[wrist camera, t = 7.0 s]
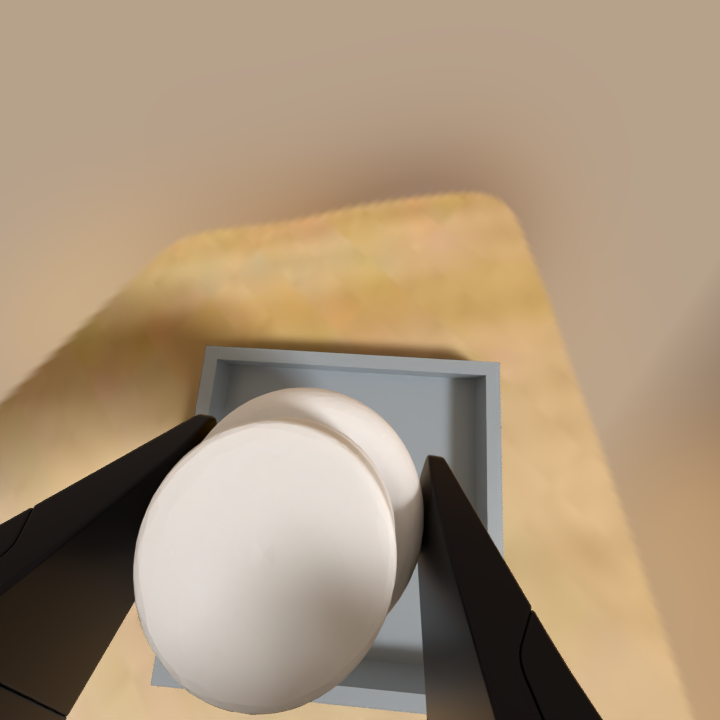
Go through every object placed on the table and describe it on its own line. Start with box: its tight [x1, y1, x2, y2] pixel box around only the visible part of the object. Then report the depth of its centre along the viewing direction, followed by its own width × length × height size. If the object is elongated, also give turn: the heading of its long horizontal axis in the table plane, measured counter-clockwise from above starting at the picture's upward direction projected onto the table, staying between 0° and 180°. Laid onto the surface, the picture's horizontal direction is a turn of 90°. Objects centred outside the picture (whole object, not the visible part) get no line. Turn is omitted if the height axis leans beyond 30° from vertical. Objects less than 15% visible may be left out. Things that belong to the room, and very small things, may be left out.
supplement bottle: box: [133, 388, 424, 715], centre depth 10 cm, size 6×6×10 cm
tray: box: [151, 345, 503, 714], centre depth 18 cm, size 18×18×2 cm
